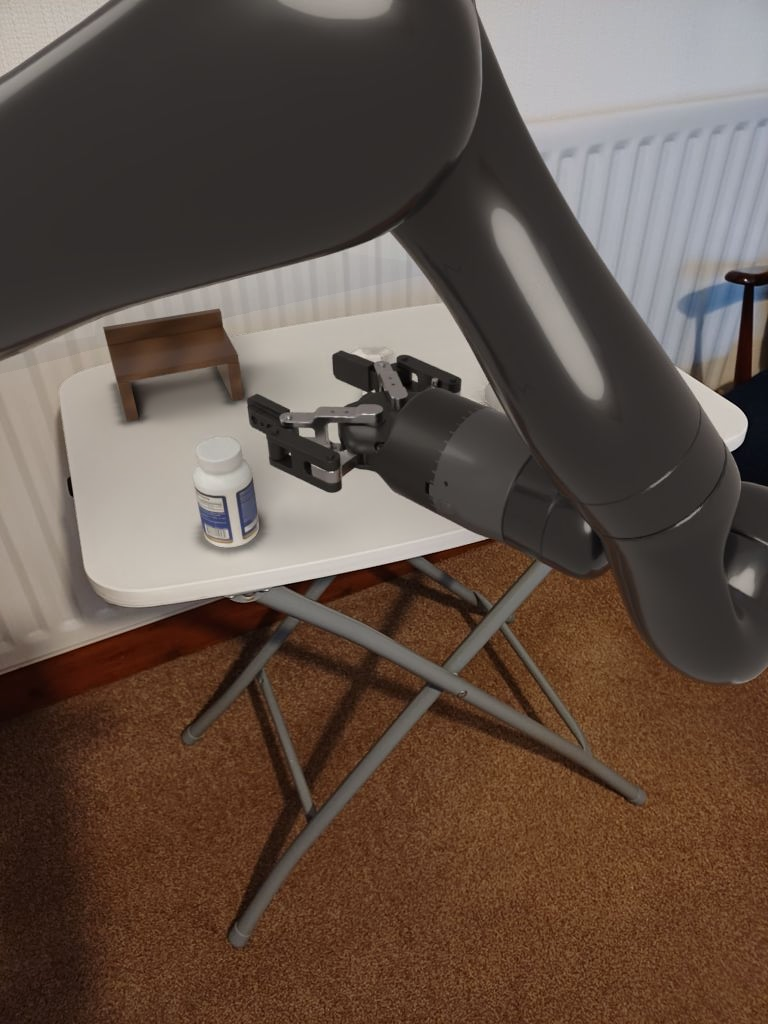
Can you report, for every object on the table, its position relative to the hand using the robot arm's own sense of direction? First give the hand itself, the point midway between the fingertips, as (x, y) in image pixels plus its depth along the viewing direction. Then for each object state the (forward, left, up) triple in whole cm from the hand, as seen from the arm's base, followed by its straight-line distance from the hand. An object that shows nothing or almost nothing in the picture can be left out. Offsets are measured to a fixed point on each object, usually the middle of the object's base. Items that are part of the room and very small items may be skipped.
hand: (295, 384), depth 58 cm
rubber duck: (+36, -9, -20) cm, 42 cm away
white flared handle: (+32, +6, -20) cm, 38 cm away
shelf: (+25, +30, -20) cm, 44 cm away
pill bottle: (+4, +10, -20) cm, 23 cm away
